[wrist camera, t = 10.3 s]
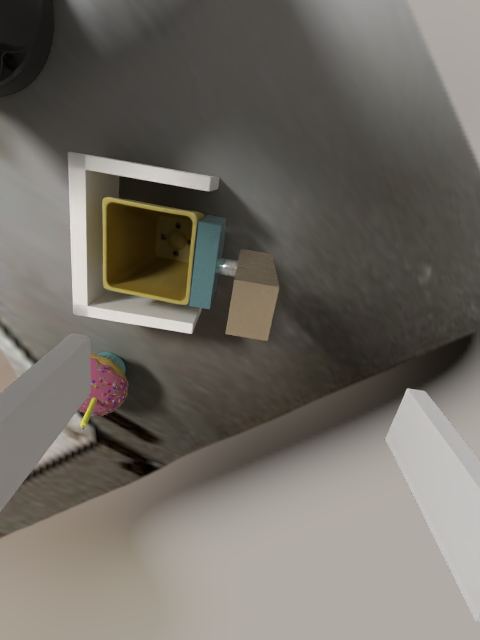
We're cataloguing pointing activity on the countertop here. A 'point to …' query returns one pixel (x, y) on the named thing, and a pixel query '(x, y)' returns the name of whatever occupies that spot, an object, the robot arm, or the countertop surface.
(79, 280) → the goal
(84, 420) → the cupcake
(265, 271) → the rod
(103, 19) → the countertop surface
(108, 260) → the flower pot
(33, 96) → the countertop surface
